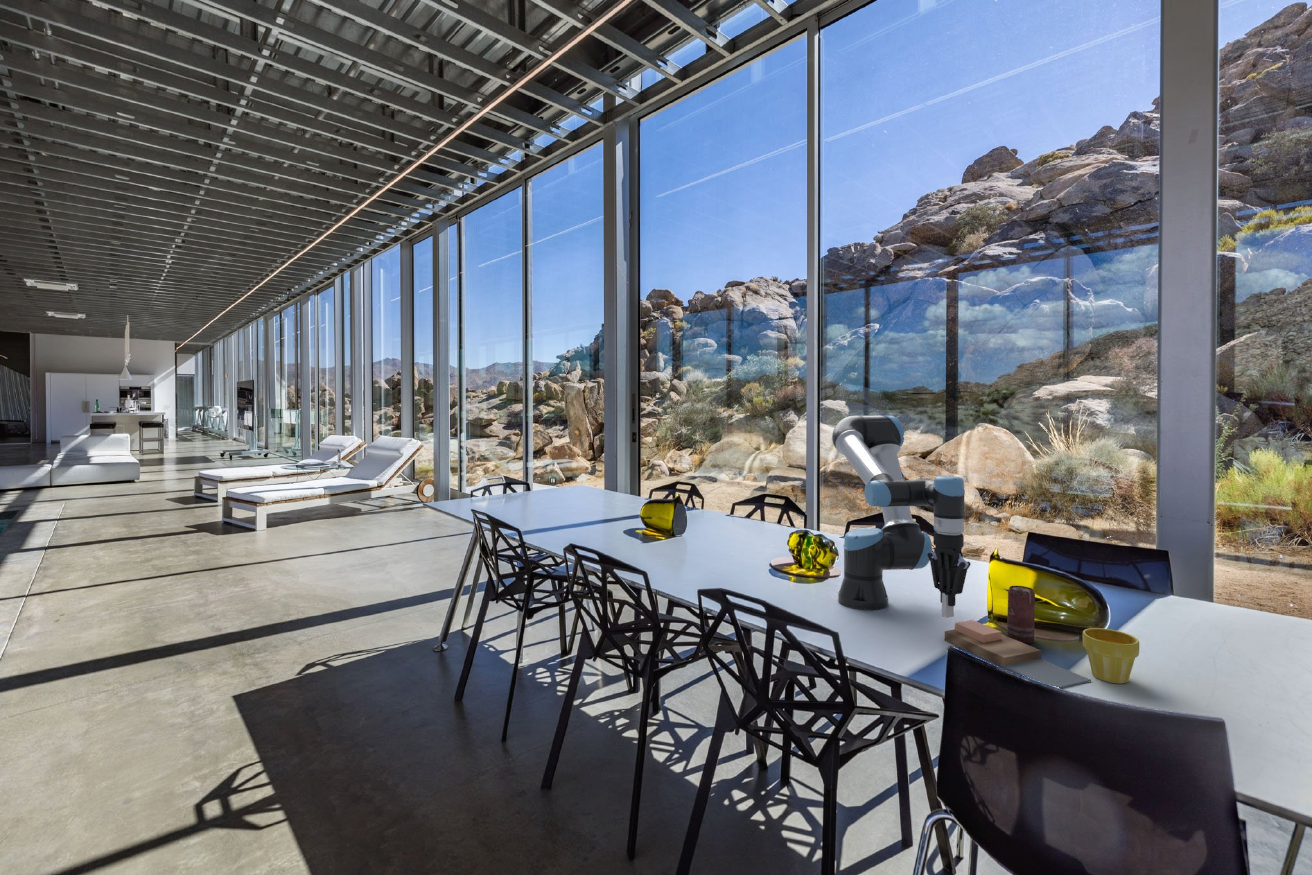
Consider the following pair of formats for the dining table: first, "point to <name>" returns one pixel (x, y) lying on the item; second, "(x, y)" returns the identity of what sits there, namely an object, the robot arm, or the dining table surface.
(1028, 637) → the can
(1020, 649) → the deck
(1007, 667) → the mat
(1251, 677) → the dining table surface
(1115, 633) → the plant pot
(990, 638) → the tile
